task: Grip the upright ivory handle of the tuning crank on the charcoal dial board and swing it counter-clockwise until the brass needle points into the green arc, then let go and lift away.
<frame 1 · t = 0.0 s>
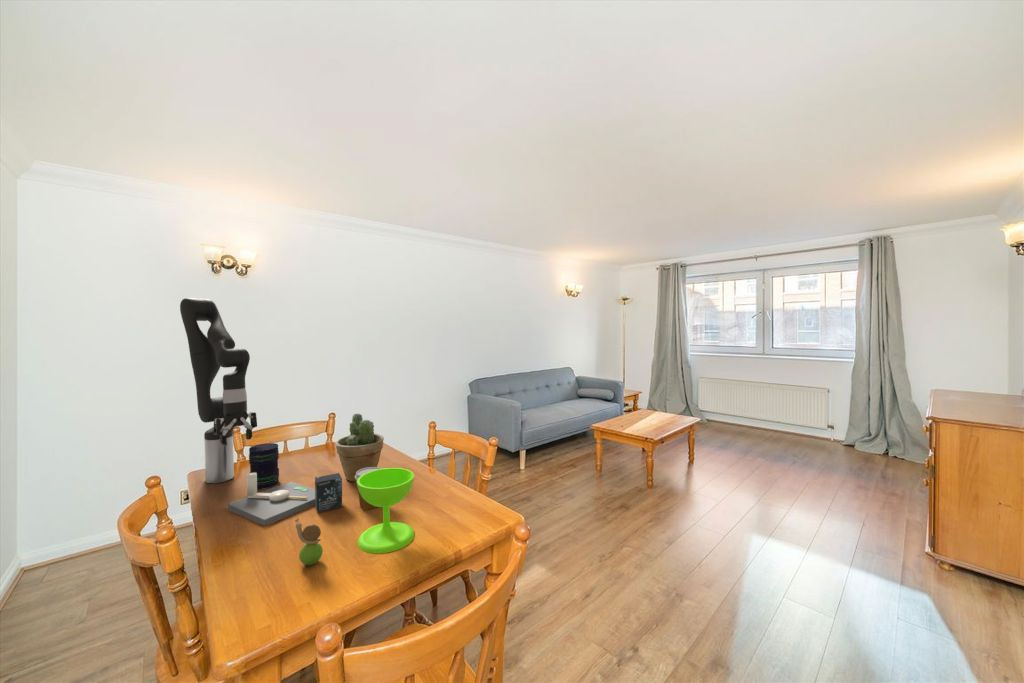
hand: (236, 442, 151), 17 cm above the table, tool pointing down, fingers open, 8 cm apart
snail figurine: (309, 564, 103), on the table
disposable coffee cup: (369, 505, 136), on the table
potted plant: (360, 477, 162), on the table
wineglass: (386, 538, 115), on the table
dial board: (279, 504, 137), on the table
tuning crank: (277, 486, 136), point 6 cm above the table, hinge at 0.0°
storage jar: (264, 485, 153), on the table
box: (328, 508, 134), on the table
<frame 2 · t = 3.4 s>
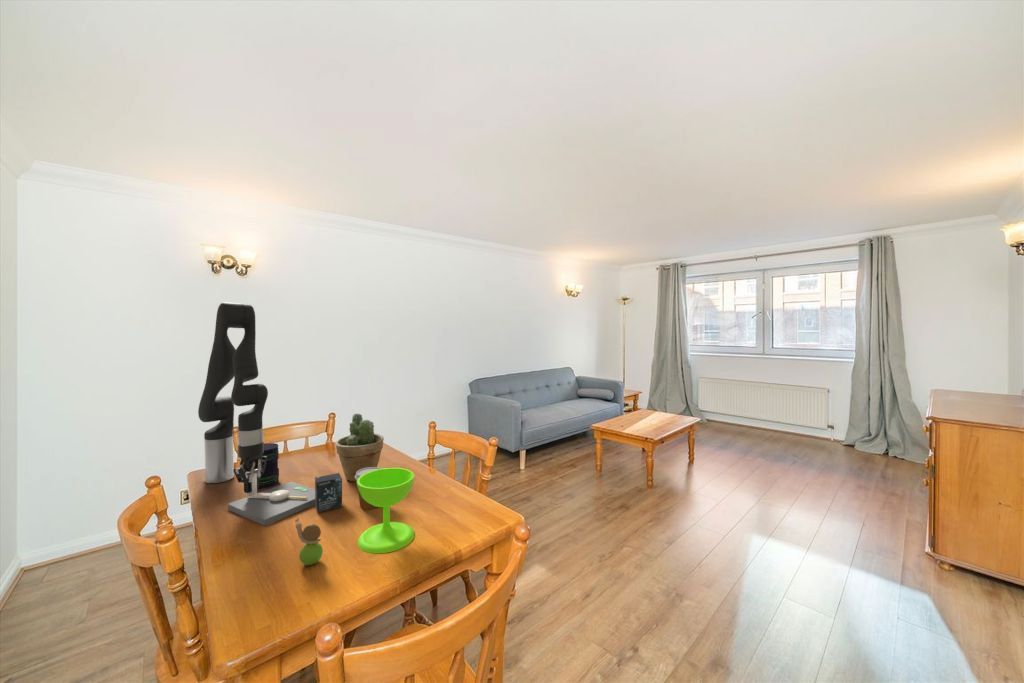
hand: (251, 490, 137), 5 cm above the table, tool pointing down, fingers closed on tuning crank, 3 cm apart
tuning crank: (277, 486, 136), point 6 cm above the table, hinge at 0.0°, touching gripper
everything else where it was.
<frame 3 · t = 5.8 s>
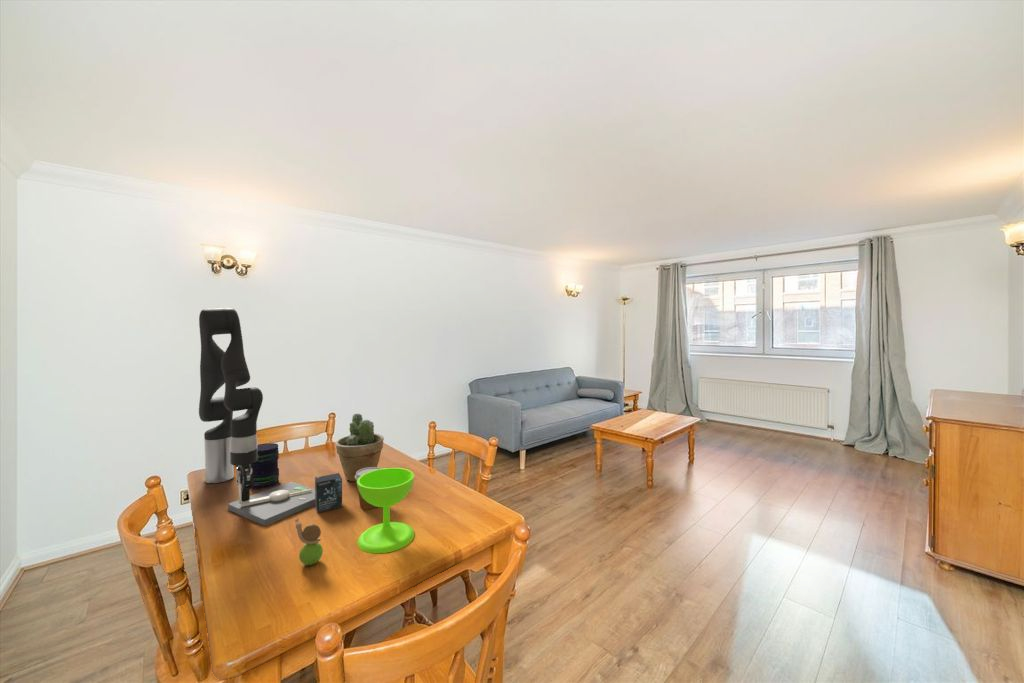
hand: (244, 498, 131), 5 cm above the table, tool pointing down, fingers closed on tuning crank, 3 cm apart
tuning crank: (276, 486, 136), point 6 cm above the table, hinge at 39.2°, touching gripper
everything else where it was.
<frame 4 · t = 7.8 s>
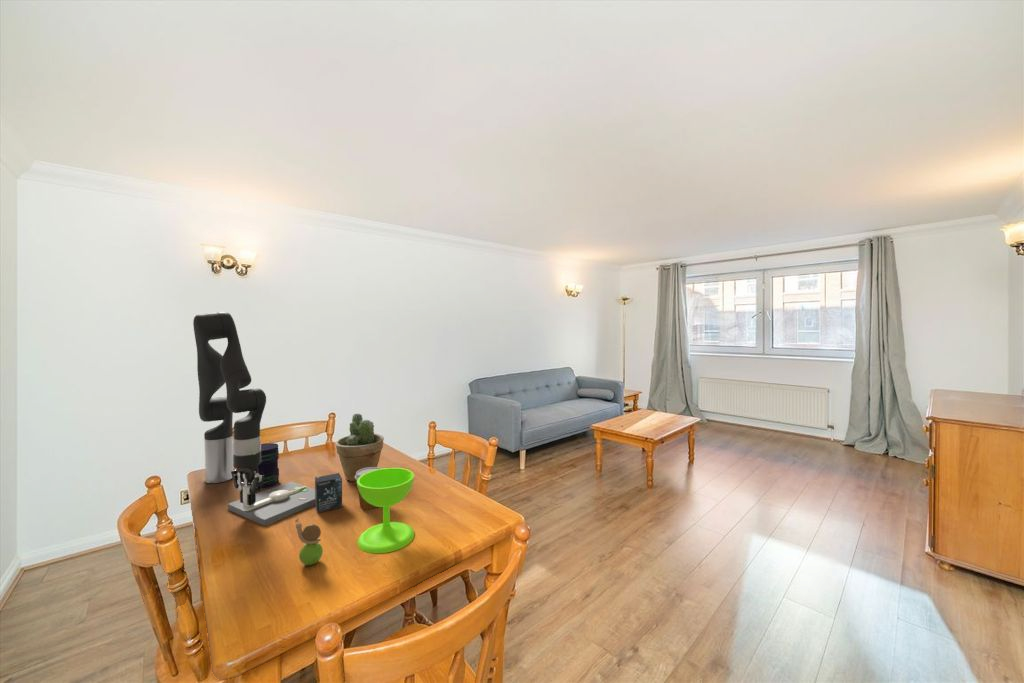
hand: (247, 502, 127), 5 cm above the table, tool pointing down, fingers closed on tuning crank, 3 cm apart
tuning crank: (276, 487, 136), point 6 cm above the table, hinge at 65.8°, touching gripper
everything else where it was.
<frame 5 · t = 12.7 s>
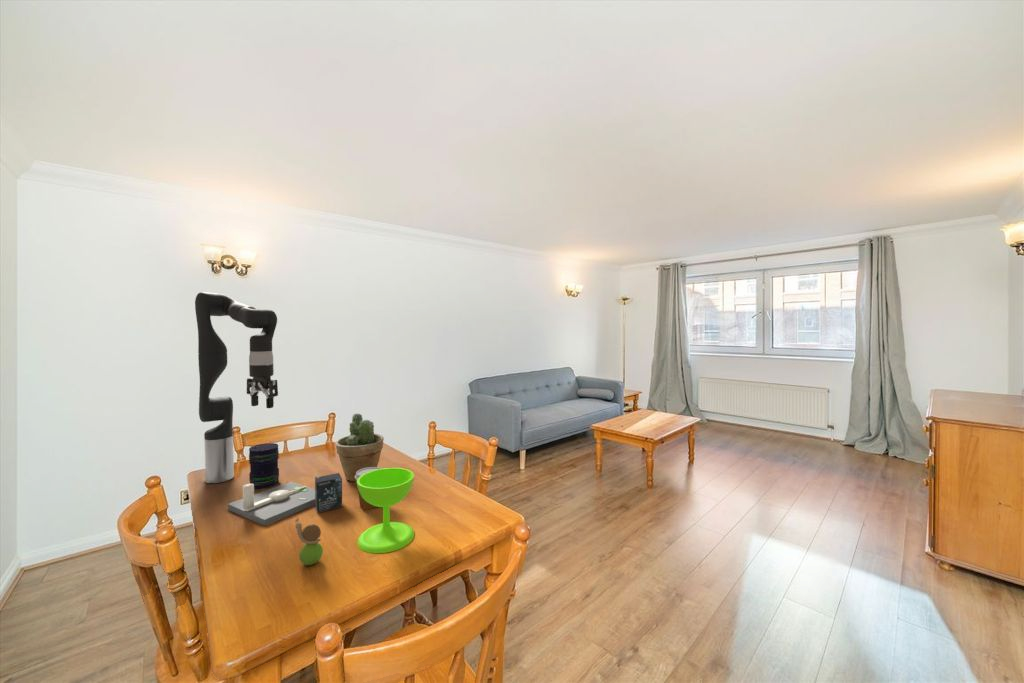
hand: (262, 406, 145), 32 cm above the table, tool pointing down, fingers open, 8 cm apart
tuning crank: (276, 487, 136), point 6 cm above the table, hinge at 65.9°
everything else where it was.
at the end: tuning crank at +66° (first picture: +0°); the gripper is holding nothing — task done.
